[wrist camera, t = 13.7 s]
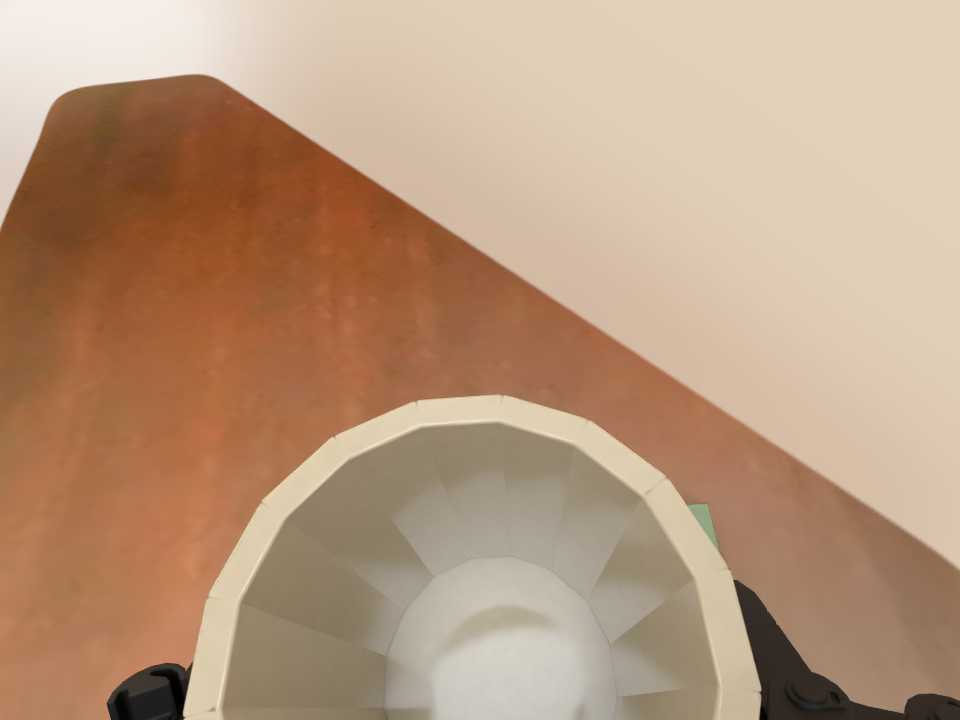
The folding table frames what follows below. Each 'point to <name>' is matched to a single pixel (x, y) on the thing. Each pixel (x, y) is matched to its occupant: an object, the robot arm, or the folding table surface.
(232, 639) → the cup
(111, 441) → the folding table surface
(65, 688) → the folding table surface
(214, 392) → the folding table surface
